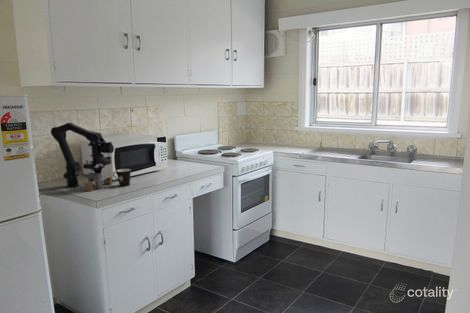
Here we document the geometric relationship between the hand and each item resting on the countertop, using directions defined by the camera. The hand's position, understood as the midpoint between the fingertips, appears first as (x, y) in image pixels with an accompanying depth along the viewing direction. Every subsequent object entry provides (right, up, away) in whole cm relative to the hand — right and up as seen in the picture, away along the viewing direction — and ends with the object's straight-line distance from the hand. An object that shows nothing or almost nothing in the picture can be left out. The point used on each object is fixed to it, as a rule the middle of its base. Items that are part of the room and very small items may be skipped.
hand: (98, 177), depth 230 cm
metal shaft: (0, -6, +1) cm, 7 cm away
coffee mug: (+14, -6, +6) cm, 16 cm away
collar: (-1, -7, -2) cm, 7 cm away
